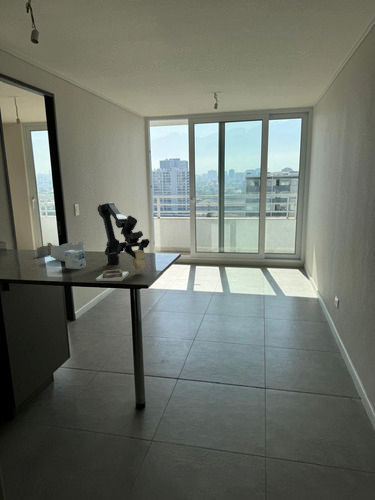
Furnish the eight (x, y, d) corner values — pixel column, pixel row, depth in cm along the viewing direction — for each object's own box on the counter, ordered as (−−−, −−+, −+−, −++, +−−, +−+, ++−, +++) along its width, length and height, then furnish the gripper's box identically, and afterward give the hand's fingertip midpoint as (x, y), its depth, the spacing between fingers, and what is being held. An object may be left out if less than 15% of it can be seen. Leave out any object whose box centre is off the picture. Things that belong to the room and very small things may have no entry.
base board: (96, 280, 175) (95, 278, 175) (105, 273, 189) (104, 271, 189) (121, 280, 174) (121, 278, 174) (128, 273, 187) (128, 271, 187)
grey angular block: (62, 264, 214) (60, 247, 212) (50, 260, 228) (48, 243, 225) (90, 259, 228) (89, 242, 226) (77, 255, 241) (75, 239, 239)
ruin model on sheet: (51, 254, 249) (49, 242, 247) (53, 255, 248) (52, 242, 246) (37, 257, 240) (36, 244, 238) (40, 258, 238) (38, 245, 236)
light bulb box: (86, 266, 207) (84, 250, 205) (79, 269, 201) (78, 252, 198) (72, 265, 210) (70, 249, 208) (65, 268, 204) (63, 251, 202)
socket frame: (102, 278, 175) (102, 275, 175) (103, 273, 185) (103, 270, 185) (122, 276, 177) (122, 274, 177) (122, 271, 187) (122, 269, 187)
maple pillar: (132, 267, 187) (131, 250, 185) (140, 266, 190) (139, 249, 188) (137, 269, 183) (136, 252, 181) (145, 268, 186) (144, 250, 184)
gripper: (118, 228, 179) (129, 251, 173) (147, 225, 191) (158, 246, 184) (112, 240, 187) (123, 262, 181) (141, 236, 198) (151, 257, 192)
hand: (139, 257), depth 184 cm, fingers closed on maple pillar, 5 cm apart
